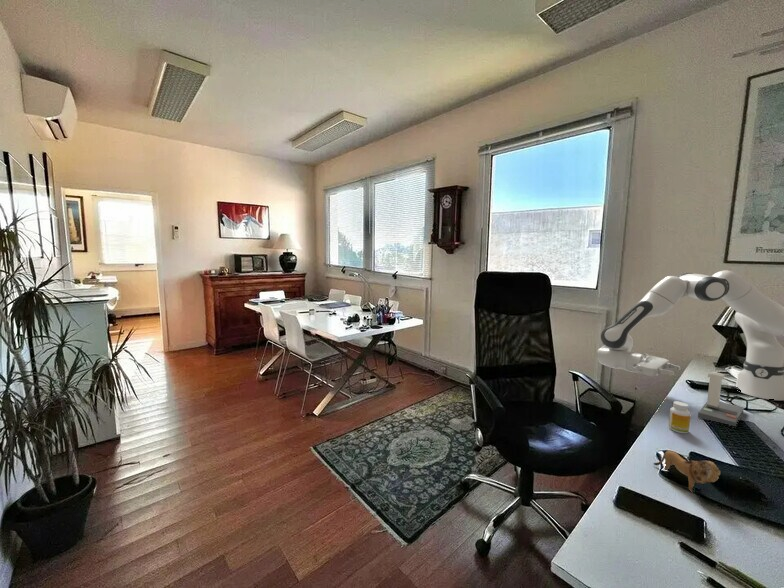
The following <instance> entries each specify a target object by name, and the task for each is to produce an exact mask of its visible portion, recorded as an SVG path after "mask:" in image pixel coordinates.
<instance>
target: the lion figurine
mask: <svg viewBox="0 0 784 588" xmlns="http://www.w3.org/2000/svg"><path fill="white" fill-rule="evenodd" d="M664 461H665V462H664ZM663 462H664V463H663ZM662 463H663V465H664V464H666V466H665V468H664V467H663V468H664V469H663V470H664V471H665V470H668V469H670V467H671V466H673V465H674V467H675V468H676V470H677V471H679V472H680V473H681V474H683V475H685V476H686V477H687V479H688V480H687V481H688V490H690V491H691V492H690V491H689V492H690V493H693V492H692V488H693V486H694V483H695V482H696V483H698V484H699V483H700V484H703V485H704V484H706V483H707V484H708V483H715V482H716V481H718V479H720V478H719V476H720V475H721V470H719V467H718V466H717V464H715V462H713V461H711V460H686V459H684V458H683V457H682V456H681V455H679V454H678V453H677V452H675V451H671V450H666V451H665V452H664V453H663V456H662V457H661V460H660V461H658V462H654V463H653V465H654V466H660V465H661V464H662ZM668 471H669V470H668Z"/></svg>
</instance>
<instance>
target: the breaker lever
mask: <svg viewBox="0 0 784 588" xmlns="http://www.w3.org/2000/svg"><path fill="white" fill-rule="evenodd" d="M707 378H709V382H708V391H707V400H706V402H707V406H708V407H712V408H716V409H718V407H719V402H720V398H721V392H722V391H721V390H722V383H723V380H724V379H725V374H724V373H720V372H716V371H715V372H714V371H709V372H708V373H707Z"/></svg>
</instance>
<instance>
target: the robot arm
mask: <svg viewBox="0 0 784 588" xmlns="http://www.w3.org/2000/svg"><path fill="white" fill-rule="evenodd" d="M685 297H687V298H689V299H696V300H700V301H703V302H704V301H705V302H713V301H718V300H720V299H721V300H723V302H724V303H726V305H728V306H729V307H730V308H731V309H733V311H735V314H734V320H735V322H736V324H737V325H738V326H739V327H740V328H741V330H742V331H743V334H744V337H745V340H746V353H745V354H746V356H745V360H744V362H743V369H742V370H740V371H738V372H737V378H736V382H735V384H736V387H738V388H739V389H740V390H741V392H740V393H742V394H745V395H746V396H747V395H748V396H751V397H754V398H759V399H763V400H769V399H774V400H773V401H784V346H783V345H782V343H780V342H779V341H778V339H777V337H776V336H778V337H784V306H783V305H782V304H780V303H778V302H777V301H775V300H773V299H771V298H769V297H768V296H766V295H765V294H763V293H762V292H761V291H759V290H758V288H757V287H756V286H754V285H752V284H751V282H749V281H748V280H746V279H745V278H744V277H742V276H741V275H739V274H738V273H736V272H734V271H732V270H727V269H724V270H720V271H717V272H715V273H714V274H712V275H707V274H702V273H693V272H686V273H681V274H679V275H677V276H676V275H668V276H665V277H664V278H662V279H661V280H660V281H658V282H657V283H656V284H655V285H653V287H652V288H650V290H649V291H648V292H646V294H645V295H644V296H643V297H642V298H641V299H640V300H639V301H638V302H637V303H636V304H635V305H633V307H631V308H630V309H629V310H628V311H627V312H626V313H624V315H623V316H622V317H620V318H619V319H618V320H617V321H616V322H614V323H612V324H610V325H609V326H607V327H605V328H604V329H602V331H601V334H600V340H601V342H602V344H603V345H602V346H601V347H600V348H598V349H597V352H596V357H597V361H598V362H599V363H600V364H601V365H603V366H605V367H608V368H613V369H615V370H624V371H626V372H631V373H635V374H639V375H640V374H641V375H644V376H648V377H654V378H655V377H658V376H659V375H661V376H671V377H673V376H674V375H675V371H677V372H678V371H680V370H681V366H680V365H675V364H674V363H670V360H669V359H666V358H663V357H660V356H655V355H649V354H648V353H643V352H642V353H638V352H632V351H633V348H634V344H635V340H634V338H633V337H632V336H631V335H630V334H629V333H630V332H631V331H632V330H633V329H634V328H635V327H636V326H637V325H639V323H641V322H642V321H643V320H645V319H646V318H650V317H651V318H652V317H662V316H664V315H665V314H667V313H668V312H670V310H672V309H673V307H674V306H675V305H676V304H678V302H679V301H680V300H681V299H683V298H685ZM667 369H668V370H667Z"/></svg>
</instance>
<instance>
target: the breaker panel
mask: <svg viewBox="0 0 784 588" xmlns="http://www.w3.org/2000/svg"><path fill="white" fill-rule="evenodd" d="M744 410H745V407H743V406H739V405H734V404H731V403H726V402H722V401H719V407H718V409H716V408H712V407H708V406H707V401H706V402H705V403H704V405H703V406H702V407H701V409H700V410H699V411H698V412H697V418H698V419H702V420H706V421H709V420H711V421H710V422H712V421H716V422H721V423H725V424H729V425H733V426H736V427H737V425H738V423H739V421H740V419H741V418H742V415H743V414H744ZM738 420H739V421H738ZM716 422H715V423H716ZM737 422H738V423H737ZM736 424H737V425H736Z"/></svg>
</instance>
